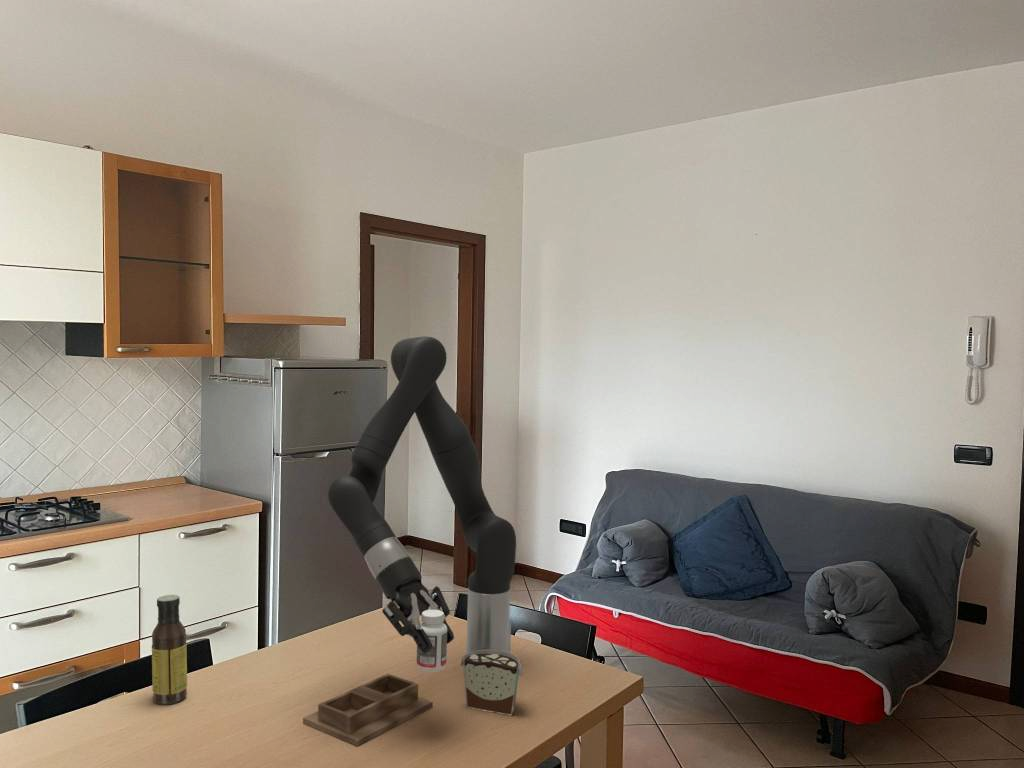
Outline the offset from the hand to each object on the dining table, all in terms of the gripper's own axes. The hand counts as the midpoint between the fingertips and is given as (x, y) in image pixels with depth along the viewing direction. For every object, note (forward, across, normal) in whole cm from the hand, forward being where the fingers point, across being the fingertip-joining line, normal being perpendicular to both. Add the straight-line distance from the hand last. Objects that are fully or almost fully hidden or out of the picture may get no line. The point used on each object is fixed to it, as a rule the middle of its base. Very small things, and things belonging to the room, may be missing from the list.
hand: (439, 645), depth 144 cm
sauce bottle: (-23, -21, +47) cm, 57 cm away
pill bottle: (+2, 0, +4) cm, 5 cm away
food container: (+12, +16, +11) cm, 23 cm away
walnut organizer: (+1, -2, +22) cm, 22 cm away
